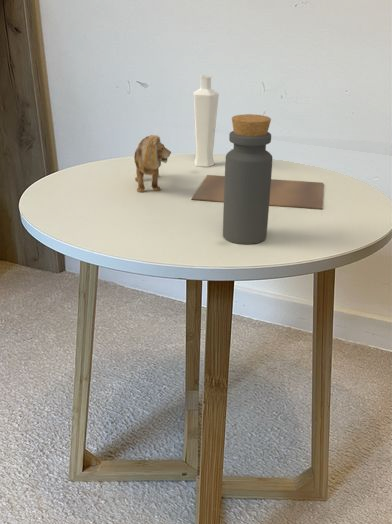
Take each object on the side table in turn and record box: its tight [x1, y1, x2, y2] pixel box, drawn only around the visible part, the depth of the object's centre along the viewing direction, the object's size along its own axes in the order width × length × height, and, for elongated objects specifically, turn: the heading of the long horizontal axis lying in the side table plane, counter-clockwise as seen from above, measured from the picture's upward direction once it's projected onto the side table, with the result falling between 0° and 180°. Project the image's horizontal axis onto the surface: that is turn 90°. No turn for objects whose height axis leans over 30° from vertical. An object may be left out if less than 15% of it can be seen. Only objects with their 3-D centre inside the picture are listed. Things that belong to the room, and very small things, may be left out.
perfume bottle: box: [192, 75, 220, 168], centre depth 108 cm, size 5×4×15 cm
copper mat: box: [191, 174, 324, 210], centre depth 97 cm, size 20×14×1 cm
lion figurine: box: [133, 134, 172, 193], centre depth 97 cm, size 15×5×9 cm, turn 13°
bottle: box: [222, 113, 273, 245], centre depth 76 cm, size 6×6×15 cm
